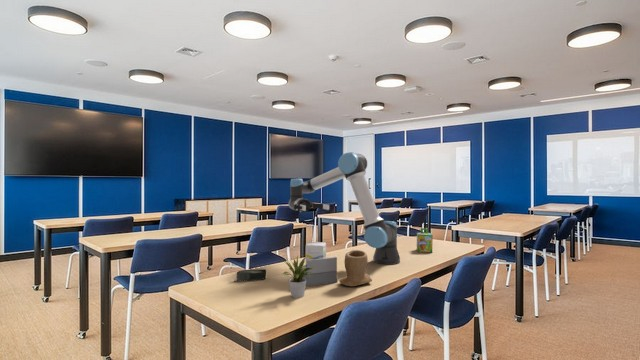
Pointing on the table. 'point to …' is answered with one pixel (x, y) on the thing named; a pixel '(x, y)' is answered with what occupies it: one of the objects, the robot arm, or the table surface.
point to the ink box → (315, 250)
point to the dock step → (321, 271)
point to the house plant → (297, 278)
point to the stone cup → (355, 269)
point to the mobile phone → (251, 275)
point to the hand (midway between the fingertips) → (317, 207)
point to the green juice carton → (424, 241)
